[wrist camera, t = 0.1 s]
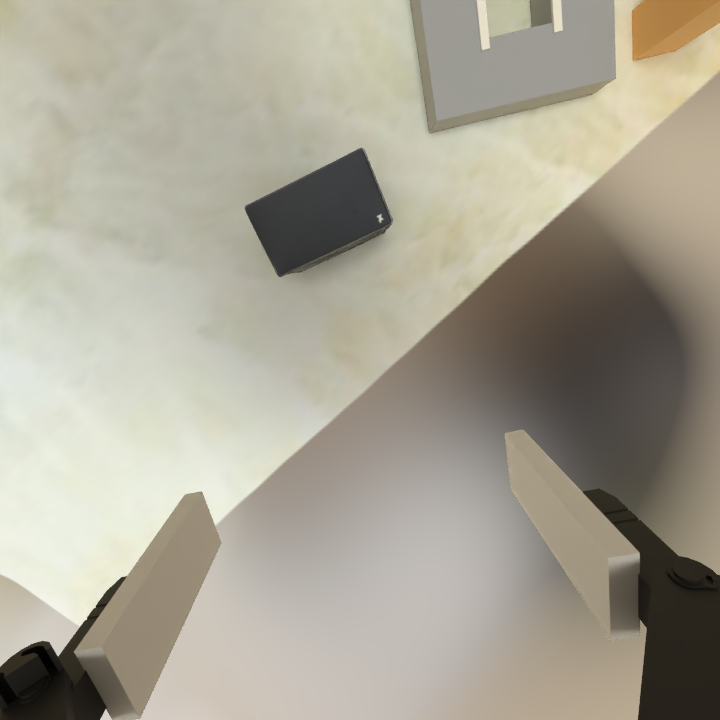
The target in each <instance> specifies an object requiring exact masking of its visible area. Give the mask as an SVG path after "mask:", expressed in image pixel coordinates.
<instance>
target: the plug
mask: <svg viewBox="0 0 720 720" xmlns="http://www.w3.org/2000/svg"><path fill="white" fill-rule="evenodd" d="M632 23H633V61H634V60H639V59H643V58H647V57H651V56H655V55H659V54H664V53H668V52H672V51H676V50H677V49H679V48H681V47H682V46H684V45H685V44H687V43H688V42H690V41H692V40H693V39H695V38H696V37H698V36H699V35H701V34H703V33H704V32H706V31H707V30H709V29H711V28H712V27H714V26H715V25H717V24H718V23H720V0H644V1H643V2H642V3H641V4H640V5H638V6H637V7H636V8H635V9H634V10H633V11H632Z"/></svg>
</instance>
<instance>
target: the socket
mask: <svg viewBox="0 0 720 720" xmlns="http://www.w3.org/2000/svg"><path fill="white" fill-rule="evenodd" d="M410 2H411V9H412V16H413V23H414V30H415V37H416V44H417V51H418V58H419V65H420V72H421V78H422V85H423V92H424V99H425V106H426V113H427V120H428V127H429V133H431V132H435V131H440V130H444V129H448V128H452V127H457V126H461V125H465V124H469V123H473V122H478V121H482V120H486V119H490V118H495V117H499V116H503V115H507V114H511V113H516V112H520V111H524V110H528V109H533V108H537V107H541V106H545V105H549V104H554V103H558V102H562V101H566V100H571V99H575V98H579V97H583V96H587V95H592V94H593V93H595V92H596V91H598V90H599V89H601V88H602V87H604V86H605V85H607V84H608V83H610V82H611V81H613V80H614V79H616V64H615V17H614V0H530V8H531V21H532V28H528V29H524V30H520V31H516V32H512V33H508V34H504V35H500V36H496V37H492V38H489V32H488V22H487V12H486V2H485V0H410Z"/></svg>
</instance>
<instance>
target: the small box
mask: <svg viewBox="0 0 720 720" xmlns="http://www.w3.org/2000/svg"><path fill="white" fill-rule="evenodd" d="M245 210H246V213H247V215H248V217H249V219H250V221H251V223H252V225H253V227H254V229H255V231H256V233H257V235H258V238H259V240H260V241H261V243H262V245H263V247H264V249H265V251H266V253H267V255H268V257H269V259H270V261H271V263H272V265H273V267H274V269H275V271H276V273H277V275H278V276H279V277H282V276H284V275H286V274H290V273H295V272H302V271H303V270H306V269H308V268H310V267H312V266H314V265H317V264H319V263H321V262H323V261H325V260H328V259H330V258H332V257H334V256H336V255H338V254H340V253H342V252H345V251H347V250H350V249H352V248H354V247H356V246H357V245H360V244H363V243H364V242H366V241H368V240H370V239H372V238H374V237H376V236H378V235H380V234H383V233H385V231H386V229H388V227H390V225H391V224H392V222H393V219H392V217H391V215H390V212H389V210H388V207H387V205H386V202H385V200H384V197H383V195H382V192H381V190H380V188H379V185H378V183H377V180H376V177H375V175H374V172H373V170H372V168H371V165H370V162H369V160H368V158H367V155H366V153H365V150H364V149H363V148H360V149H358V150H356V151H354V152H352V153H350V154H348V155H346V156H344V157H342V158H340V159H338V160H336V161H334V162H332V163H330V164H328V165H326V166H324V167H322V168H320V169H318V170H316V171H314V172H312V173H310V174H308V175H307V176H305V177H303V178H301V179H299V180H297V181H295V182H293V183H291V184H289V185H287V186H285V187H283V188H281V189H279V190H277V191H275V192H273V193H271V194H269V195H267V196H265V197H262V198H260V199H258V200H256V201H254V202H252V203H250V204H248V205H246V206H245Z"/></svg>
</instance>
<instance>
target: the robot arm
mask: <svg viewBox="0 0 720 720" xmlns="http://www.w3.org/2000/svg"><path fill="white" fill-rule="evenodd" d="M505 441H506V451H507V460H508V468H509V477H510V486H511V490H512V492H513V493H514V495H515V496H516V498H517V499H518V501H519V502H520V504H521V505H522V507H523V508H524V510H525V511H526V513H527V515H528V516H529V517H530V519H531V520H532V522H533V523H534V525H535V526H536V528H537V530H538V531H539V533H540V534H541V536H542V537H543V539H544V540H545V542H546V543H547V545H548V546H549V548H550V549H551V551H552V552H553V554H554V556H555V557H556V559H557V560H558V561H559V563H560V565H561V566H562V567H563V569H564V571H565V572H566V574H567V575H568V577H569V578H570V580H571V581H572V583H573V584H574V586H575V587H576V589H577V590H578V592H579V593H580V595H581V597H582V598H583V599H584V601H585V603H586V604H587V606H588V607H589V609H590V610H591V611H592V613H593V615H594V616H595V618H596V619H597V621H598V622H599V624H600V625H601V627H602V628H603V630H604V632H605V633H606V635H607V636H608V637H609V639H610V641H615V640H620V639H627V638H632V637H639V636H640V620H641V621H642V622H643V624H644V625H645V626H646V628H647V633H646V643H645V655H644V665H643V675H642V684H641V695H640V705H639V715H638V720H720V575H717V574H716V573H715V572H714V571H713V570H711V569H710V568H708V567H707V566H705V565H703V564H702V563H700V562H697V561H695V560H692V559H689V558H686V557H680V556H678V555H677V554H676V553H675V552H674V551H673V550H671V549H670V548H669V547H668V546H667V545H666V544H665V543H664V542H663V541H662V540H661V539H660V538H659V537H657V536H656V535H655V534H654V533H653V532H652V531H651V530H650V529H649V528H648V527H647V526H646V525H645V524H644V523H643V522H642V521H641V520H638V518H637V517H636V516H635V515H634V514H633V513H632V512H631V511H629V510H628V508H627V507H626V506H625V505H623V504H622V503H621V502H620V501H619V500H618V499H617V498H616V497H614V496H612V495H610V494H608V493H606V492H605V491H603V490H601V489H595V490H590V491H584V492H582V491H581V490H580V489H579V488H578V487H577V486H576V485H575V484H574V483H573V482H572V481H571V480H570V479H569V478H568V477H567V476H566V475H565V474H564V472H563V471H562V470H561V469H560V468H559V467H558V466H557V465H556V464H555V463H554V462H553V461H552V460H551V459H550V458H549V457H548V456H547V455H546V453H545V452H544V451H542V449H541V448H540V447H539V446H538V445H537V444H536V443H535V442H534V441H533V440H532V439H531V438H530V437H529V436H528V434H527V433H526V432H524V430H519V431H513V432H508V433H505ZM220 545H221V541H220V538H219V535H218V533H217V530H216V527H215V525H214V522H213V519H212V517H211V514H210V512H209V509H208V506H207V504H206V501H205V498H204V496H203V493H202V491H201V492H196V493H191V494H186V495H184V497H183V498H182V499H181V501H180V502H179V504H178V505H177V507H176V508H175V509H174V511H173V512H172V514H171V515H170V516H169V518H168V519H167V521H166V522H165V524H164V525H163V526H162V528H161V529H160V531H159V532H158V533H157V535H156V536H155V538H154V539H153V540H152V542H151V543H150V545H149V546H148V548H147V549H146V550H145V552H144V553H143V555H142V556H141V557H140V559H139V560H138V562H137V563H136V565H135V566H134V567H133V569H132V570H131V572H130V573H129V574H128V576H126V577H121V578H120V579H119V580H118V581H117V582H116V583H115V584H114V585H113V586H112V587H110V588H109V589H108V590H107V591H106V593H105V594H104V595H103V597H102V598H101V599H100V601H99V602H98V603H97V605H96V608H94V609H93V610H92V612H91V613H90V614H89V616H88V617H87V620H85V621H84V622H83V624H82V625H81V627H80V628H79V629H78V631H77V632H76V634H75V635H74V636H73V638H72V639H71V640H70V642H69V643H68V644H67V646H66V647H65V648H64V650H63V651H62V652H61V654H60V655H59V656H57V655H56V653H55V652H54V650H53V648H52V646H51V645H50V643H49V642H46V641H41V642H37V643H34V644H31V645H30V646H28V647H26V648H24V649H22V650H21V651H19V652H18V653H16V654H15V655H13V656H12V657H11V658H9V659H8V660H7V661H6V662H5V663H4V664H3V665H2V666H1V667H0V720H100V718H101V717H102V715H103V713H104V711H105V709H107V711H108V713H109V715H110V716H111V718H112V720H135V719H140V717H141V715H142V713H143V711H144V709H145V706H146V705H147V703H148V700H149V698H150V696H151V694H152V691H153V690H154V687H155V685H156V683H157V681H158V679H159V677H160V674H161V672H162V670H163V668H164V666H165V664H166V661H167V659H168V657H169V655H170V653H171V651H172V649H173V646H174V644H175V642H176V640H177V638H178V635H179V633H180V631H181V629H182V627H183V625H184V623H185V620H186V618H187V616H188V614H189V612H190V610H191V607H192V605H193V603H194V601H195V599H196V597H197V594H198V592H199V590H200V588H201V586H202V584H203V582H204V579H205V577H206V575H207V573H208V571H209V569H210V566H211V564H212V562H213V560H214V558H215V556H216V553H217V551H218V549H219V547H220Z"/></svg>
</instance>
